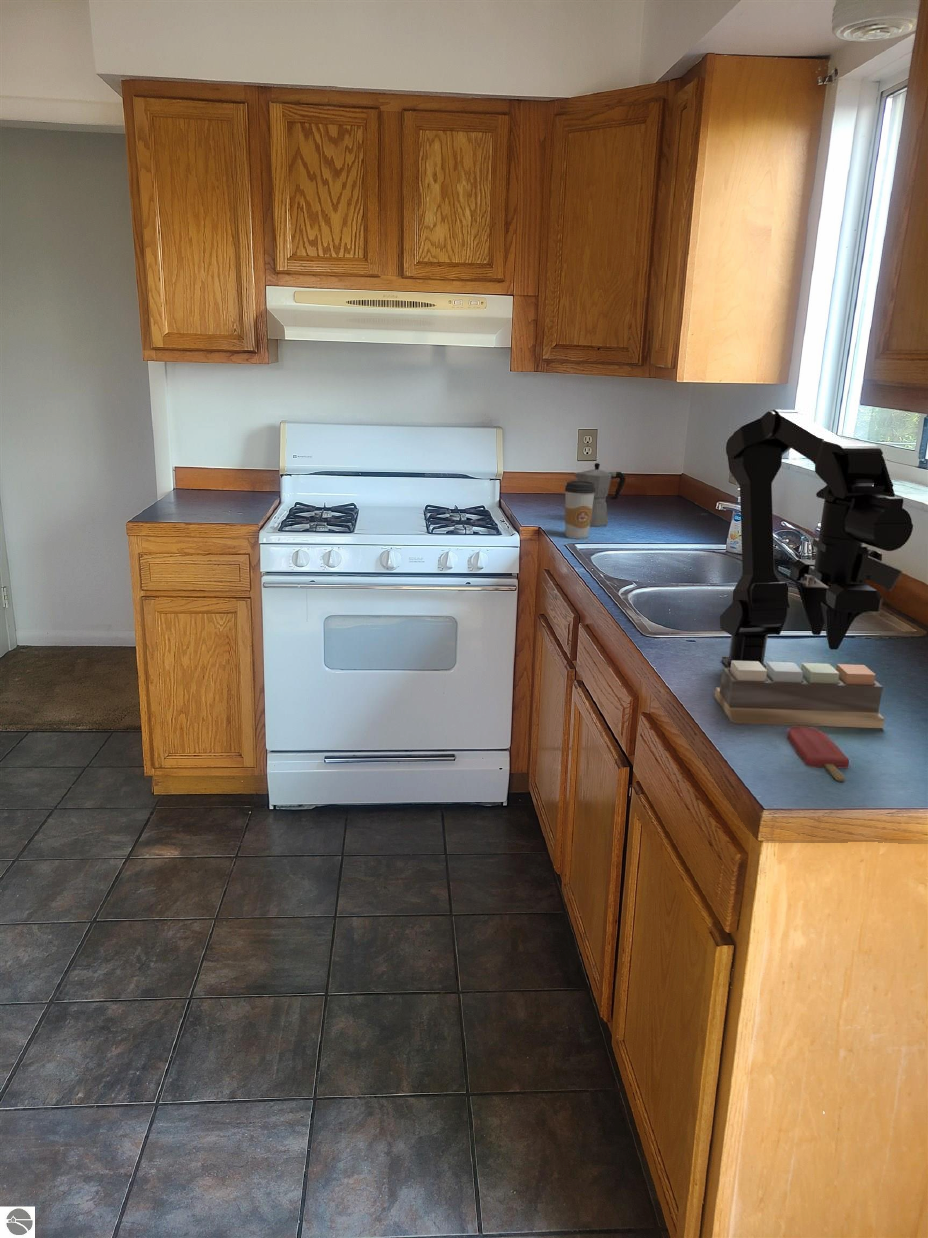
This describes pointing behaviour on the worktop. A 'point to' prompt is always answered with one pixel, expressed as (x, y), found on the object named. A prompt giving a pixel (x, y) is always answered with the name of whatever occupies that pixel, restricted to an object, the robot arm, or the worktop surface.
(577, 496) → the coffee cup
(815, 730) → the popsicle
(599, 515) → the coffeepot
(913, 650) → the worktop surface
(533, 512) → the worktop surface
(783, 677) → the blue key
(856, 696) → the brown long open box
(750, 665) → the ivory key
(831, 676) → the sage key
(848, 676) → the terracotta key
